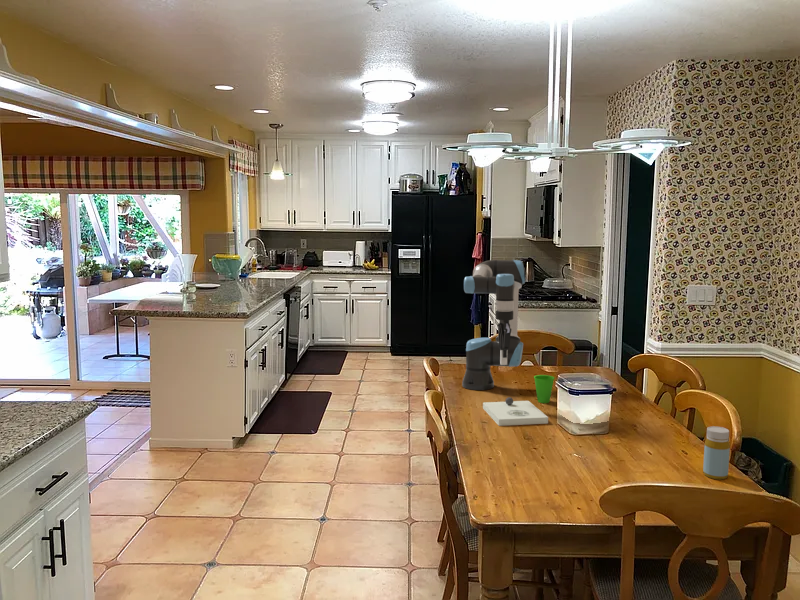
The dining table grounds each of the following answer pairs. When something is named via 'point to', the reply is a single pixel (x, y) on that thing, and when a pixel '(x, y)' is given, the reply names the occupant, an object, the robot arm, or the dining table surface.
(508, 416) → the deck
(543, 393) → the cup
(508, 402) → the ball
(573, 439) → the dining table surface
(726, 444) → the bottle
